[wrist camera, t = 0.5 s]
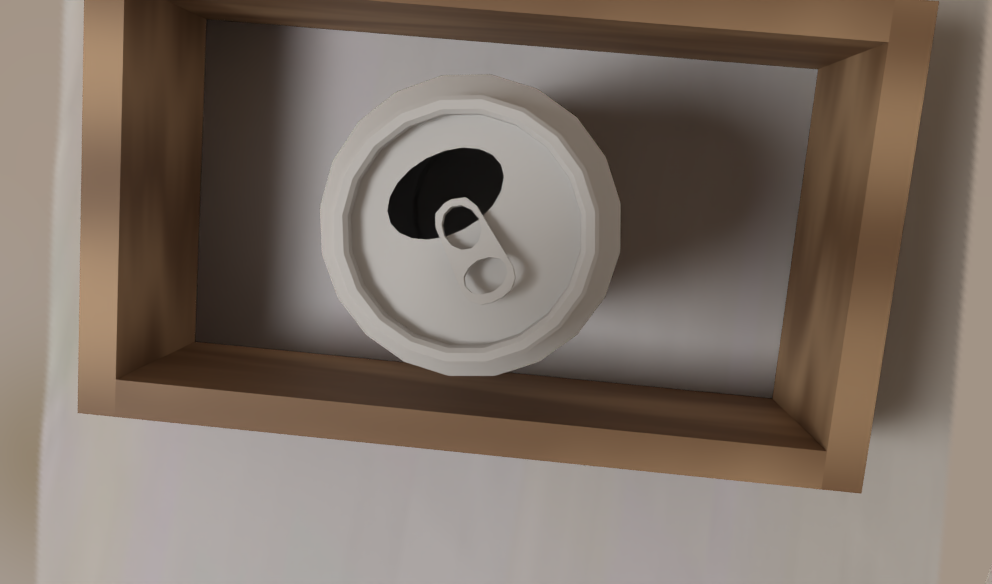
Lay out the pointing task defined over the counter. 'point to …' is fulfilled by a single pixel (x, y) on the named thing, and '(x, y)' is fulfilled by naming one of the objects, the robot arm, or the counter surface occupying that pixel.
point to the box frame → (508, 396)
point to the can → (470, 225)
